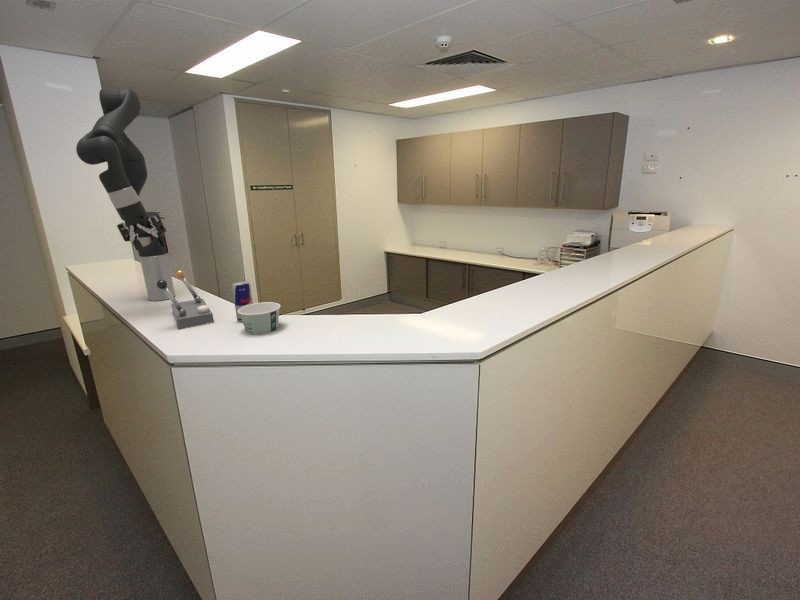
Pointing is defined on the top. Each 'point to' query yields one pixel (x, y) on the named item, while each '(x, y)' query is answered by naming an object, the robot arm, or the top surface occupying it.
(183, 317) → the control panel
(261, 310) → the food container
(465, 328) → the top surface
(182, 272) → the orange knob lever
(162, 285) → the black knob lever
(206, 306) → the push button
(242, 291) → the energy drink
